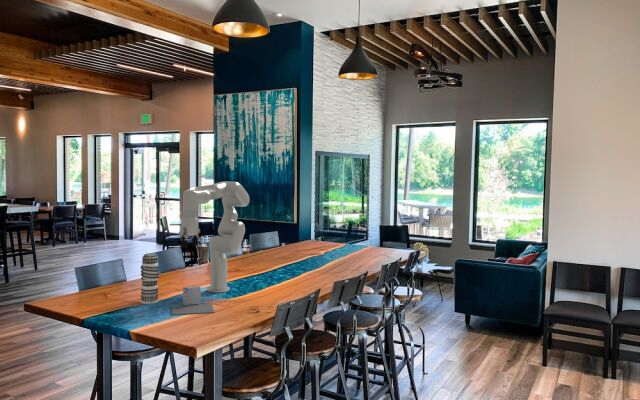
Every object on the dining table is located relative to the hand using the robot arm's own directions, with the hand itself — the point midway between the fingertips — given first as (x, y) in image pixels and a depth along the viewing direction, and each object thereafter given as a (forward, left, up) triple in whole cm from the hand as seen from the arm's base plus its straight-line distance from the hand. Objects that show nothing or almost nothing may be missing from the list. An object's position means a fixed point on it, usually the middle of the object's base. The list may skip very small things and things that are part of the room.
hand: (189, 246), depth 247 cm
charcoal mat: (+14, +1, -29) cm, 32 cm away
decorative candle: (-6, -20, -30) cm, 36 cm away
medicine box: (+4, +1, -29) cm, 30 cm away
